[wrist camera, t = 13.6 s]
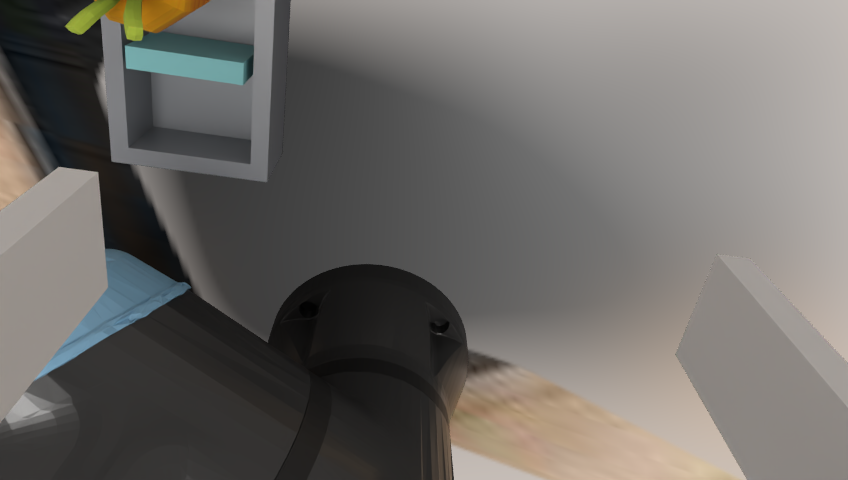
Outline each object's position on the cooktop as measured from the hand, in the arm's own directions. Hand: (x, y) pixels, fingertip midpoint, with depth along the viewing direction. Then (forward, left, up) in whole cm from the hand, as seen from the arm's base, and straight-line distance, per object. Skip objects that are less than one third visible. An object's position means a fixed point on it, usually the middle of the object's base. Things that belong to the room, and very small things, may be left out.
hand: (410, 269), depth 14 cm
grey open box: (0, +12, -29) cm, 31 cm away
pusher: (-3, +12, -28) cm, 30 cm away
